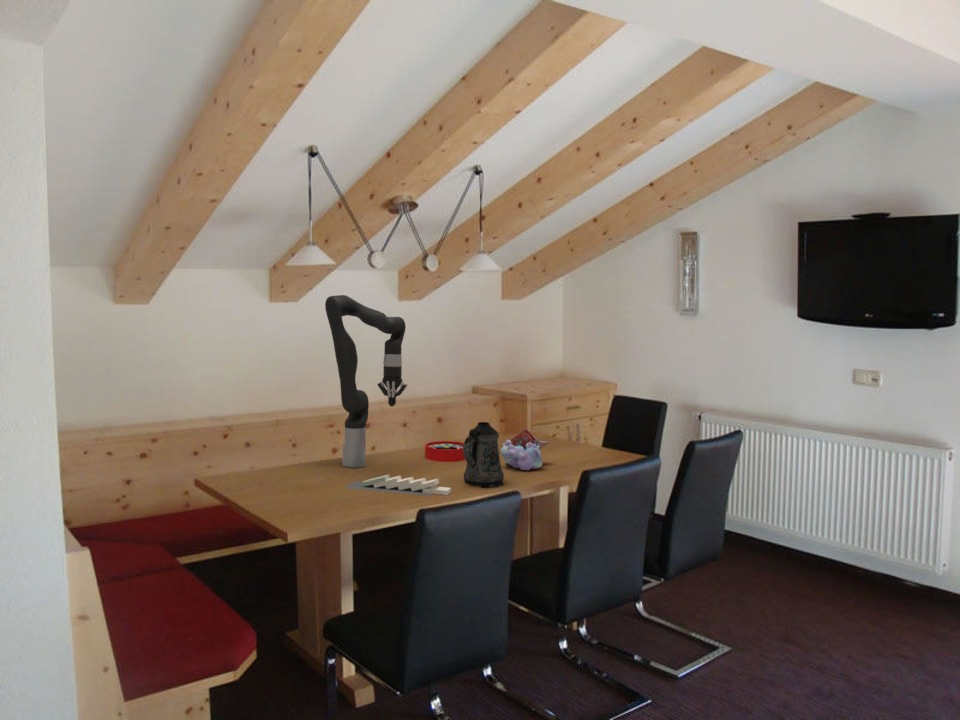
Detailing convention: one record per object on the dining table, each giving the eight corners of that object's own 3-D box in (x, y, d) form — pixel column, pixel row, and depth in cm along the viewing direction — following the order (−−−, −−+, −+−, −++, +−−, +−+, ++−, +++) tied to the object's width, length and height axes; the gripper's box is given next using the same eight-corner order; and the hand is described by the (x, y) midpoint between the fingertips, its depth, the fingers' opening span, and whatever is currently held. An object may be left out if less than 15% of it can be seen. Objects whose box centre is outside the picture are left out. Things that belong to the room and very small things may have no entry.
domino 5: (410, 487, 316) (434, 481, 313) (415, 484, 321) (438, 478, 318) (412, 491, 316) (435, 485, 313) (416, 488, 321) (439, 482, 318)
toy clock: (467, 450, 371) (423, 449, 370) (467, 462, 371) (423, 461, 371) (468, 441, 390) (426, 440, 390) (467, 453, 391) (426, 452, 391)
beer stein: (506, 479, 341) (508, 420, 338) (498, 491, 322) (500, 428, 319) (468, 476, 344) (469, 418, 342) (457, 488, 325) (458, 426, 323)
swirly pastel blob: (500, 462, 351) (522, 427, 351) (488, 450, 372) (509, 417, 372) (537, 484, 357) (559, 450, 357) (523, 471, 378) (544, 438, 378)
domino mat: (344, 488, 319) (344, 487, 319) (356, 481, 331) (356, 480, 331) (429, 497, 310) (429, 495, 310) (438, 489, 322) (438, 488, 322)
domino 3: (385, 485, 318) (408, 479, 316) (389, 482, 323) (412, 476, 320) (386, 489, 318) (409, 483, 316) (391, 486, 323) (413, 480, 321)
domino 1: (361, 482, 321) (384, 477, 318) (366, 480, 326) (389, 474, 323) (362, 486, 321) (385, 481, 318) (367, 483, 326) (390, 478, 323)
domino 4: (397, 486, 317) (421, 480, 314) (402, 483, 322) (425, 477, 319) (398, 490, 317) (422, 484, 314) (403, 487, 322) (426, 481, 319)
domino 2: (373, 484, 320) (396, 478, 317) (377, 481, 324) (400, 475, 322) (374, 488, 320) (397, 482, 317) (379, 485, 324) (401, 479, 322)
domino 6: (422, 488, 315) (447, 491, 312) (426, 485, 319) (451, 487, 317) (422, 492, 315) (447, 495, 312) (426, 489, 319) (451, 491, 317)
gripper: (410, 364, 341) (409, 405, 343) (381, 363, 345) (380, 403, 347) (404, 366, 334) (403, 408, 336) (374, 364, 338) (373, 406, 340)
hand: (391, 405), depth 341 cm, fingers closed
